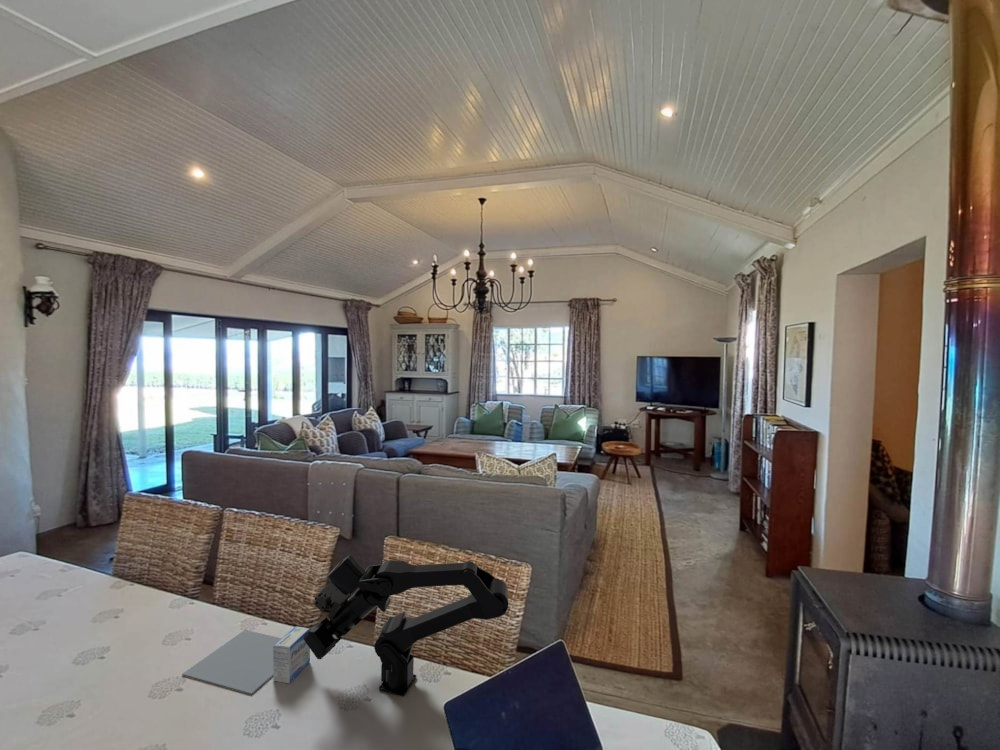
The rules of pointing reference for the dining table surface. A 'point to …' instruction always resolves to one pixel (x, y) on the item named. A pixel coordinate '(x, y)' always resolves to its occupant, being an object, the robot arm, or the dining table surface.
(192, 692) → the dining table surface
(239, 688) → the mat
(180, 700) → the dining table surface
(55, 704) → the dining table surface
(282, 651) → the medicine box
